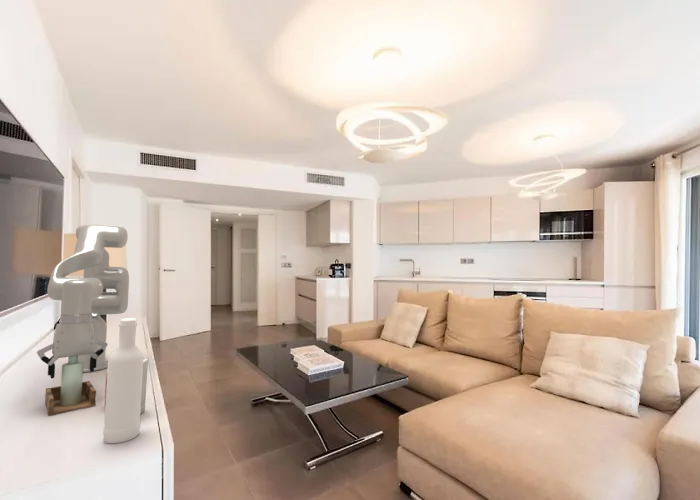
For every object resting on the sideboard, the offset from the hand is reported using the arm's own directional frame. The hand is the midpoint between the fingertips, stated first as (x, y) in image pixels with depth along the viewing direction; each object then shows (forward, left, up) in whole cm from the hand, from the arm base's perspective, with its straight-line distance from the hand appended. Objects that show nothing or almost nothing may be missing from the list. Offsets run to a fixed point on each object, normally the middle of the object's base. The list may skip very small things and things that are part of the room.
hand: (72, 373), depth 108 cm
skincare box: (+21, +11, -10) cm, 26 cm away
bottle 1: (0, 0, -9) cm, 9 cm away
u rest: (0, 0, -9) cm, 9 cm away
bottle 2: (+33, +7, -10) cm, 35 cm away
